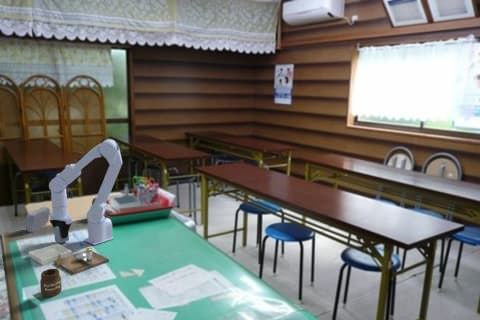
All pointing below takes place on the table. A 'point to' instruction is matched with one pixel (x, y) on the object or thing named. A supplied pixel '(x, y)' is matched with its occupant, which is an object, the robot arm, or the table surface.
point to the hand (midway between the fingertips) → (61, 236)
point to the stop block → (59, 235)
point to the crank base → (80, 263)
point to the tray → (49, 254)
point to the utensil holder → (50, 281)
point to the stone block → (37, 219)
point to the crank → (85, 256)
